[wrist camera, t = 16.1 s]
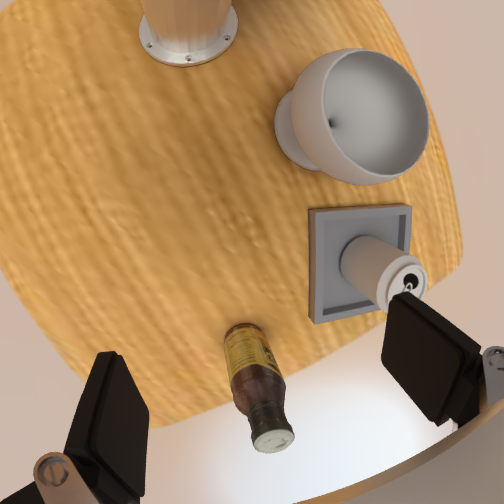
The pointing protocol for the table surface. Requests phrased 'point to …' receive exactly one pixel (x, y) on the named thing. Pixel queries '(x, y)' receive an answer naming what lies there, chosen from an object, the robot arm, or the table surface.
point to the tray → (332, 248)
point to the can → (382, 271)
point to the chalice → (354, 118)
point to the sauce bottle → (258, 387)
